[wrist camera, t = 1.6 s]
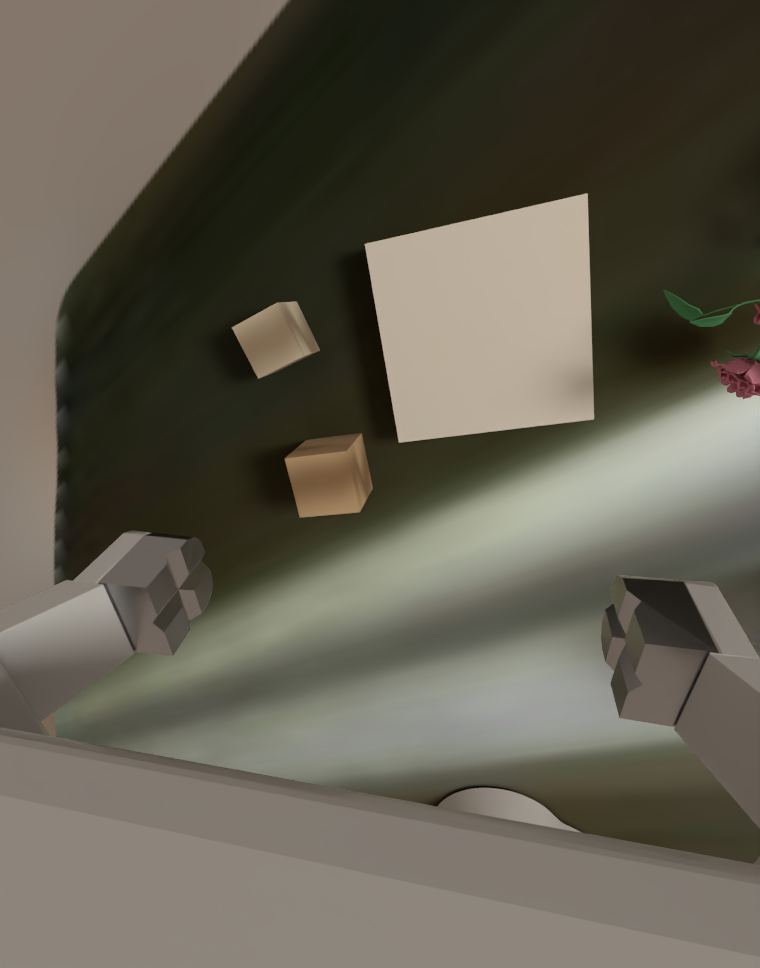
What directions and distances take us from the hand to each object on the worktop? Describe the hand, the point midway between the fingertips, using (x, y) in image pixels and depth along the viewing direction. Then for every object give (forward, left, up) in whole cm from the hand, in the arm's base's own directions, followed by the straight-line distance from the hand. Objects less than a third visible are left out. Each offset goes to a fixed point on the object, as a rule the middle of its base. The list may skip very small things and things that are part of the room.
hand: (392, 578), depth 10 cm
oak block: (-7, +11, -30) cm, 33 cm away
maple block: (+4, +13, -30) cm, 33 cm away
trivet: (+2, -2, -30) cm, 30 cm away
